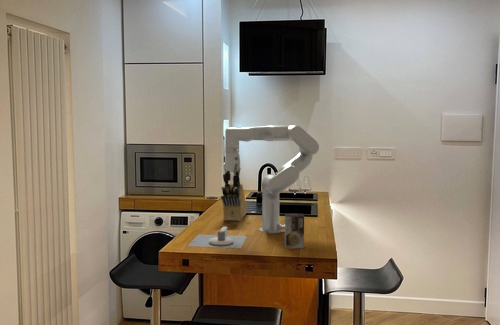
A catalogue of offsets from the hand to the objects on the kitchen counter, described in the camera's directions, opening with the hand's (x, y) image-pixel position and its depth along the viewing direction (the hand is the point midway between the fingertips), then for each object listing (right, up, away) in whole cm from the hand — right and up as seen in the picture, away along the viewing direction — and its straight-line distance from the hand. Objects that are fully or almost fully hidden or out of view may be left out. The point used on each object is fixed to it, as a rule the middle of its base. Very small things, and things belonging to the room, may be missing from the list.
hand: (231, 181), depth 276 cm
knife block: (0, -25, +41) cm, 48 cm away
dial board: (-6, -30, -22) cm, 38 cm away
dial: (-4, -29, -22) cm, 36 cm away
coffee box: (+32, -31, -26) cm, 52 cm away
